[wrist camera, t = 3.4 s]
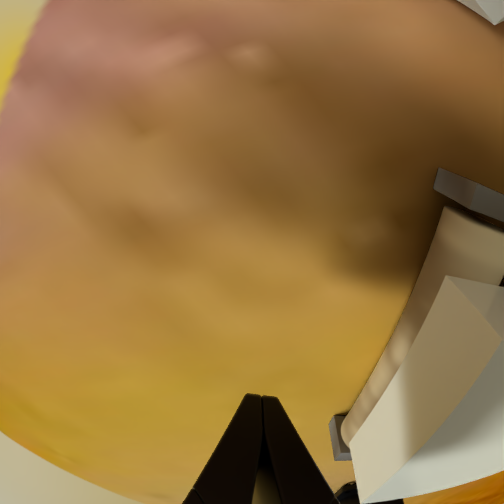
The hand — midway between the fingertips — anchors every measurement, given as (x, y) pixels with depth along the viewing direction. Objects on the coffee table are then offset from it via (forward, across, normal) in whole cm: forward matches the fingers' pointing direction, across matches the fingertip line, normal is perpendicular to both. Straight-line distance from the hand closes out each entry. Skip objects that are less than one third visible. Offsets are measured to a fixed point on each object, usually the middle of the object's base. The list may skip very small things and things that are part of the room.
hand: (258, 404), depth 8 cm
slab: (+1, -13, 0) cm, 13 cm away
